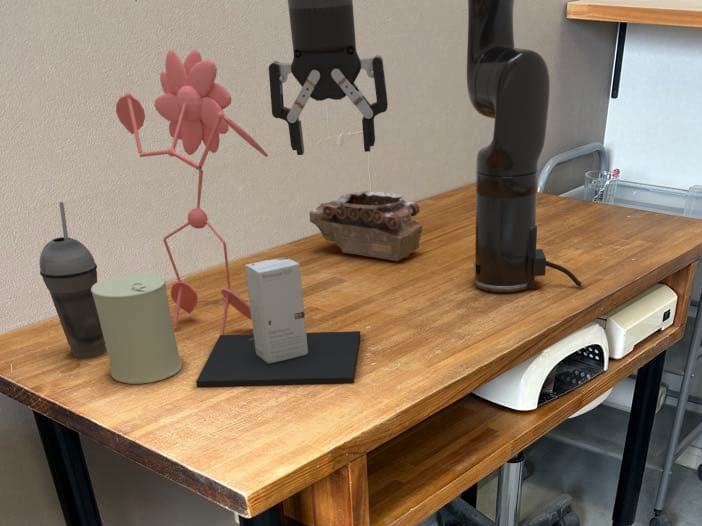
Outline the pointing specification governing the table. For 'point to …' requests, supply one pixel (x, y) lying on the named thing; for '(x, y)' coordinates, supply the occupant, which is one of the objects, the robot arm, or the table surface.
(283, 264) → the cosmetic box
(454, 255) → the table surface
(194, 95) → the figurine
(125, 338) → the can
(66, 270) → the beverage cup
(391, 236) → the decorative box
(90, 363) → the table surface
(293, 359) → the mat
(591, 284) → the table surface
